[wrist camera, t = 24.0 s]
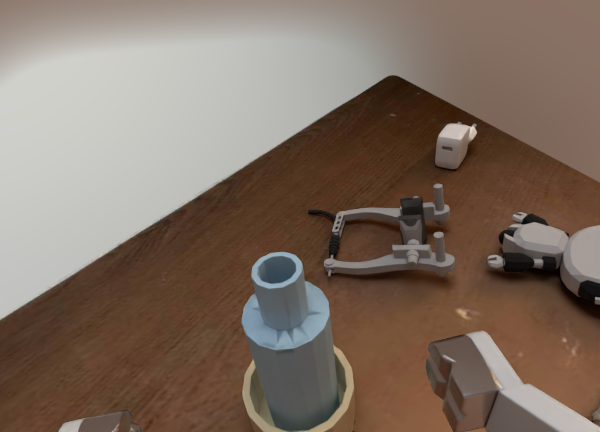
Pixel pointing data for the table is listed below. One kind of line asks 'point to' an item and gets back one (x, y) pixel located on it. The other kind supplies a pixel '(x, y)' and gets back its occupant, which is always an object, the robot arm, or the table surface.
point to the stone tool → (596, 417)
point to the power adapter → (453, 145)
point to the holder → (335, 428)
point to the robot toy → (552, 253)
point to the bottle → (291, 343)
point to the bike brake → (412, 235)
